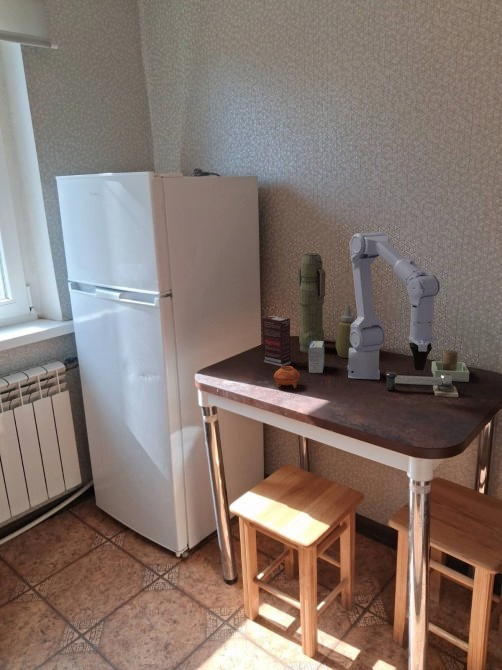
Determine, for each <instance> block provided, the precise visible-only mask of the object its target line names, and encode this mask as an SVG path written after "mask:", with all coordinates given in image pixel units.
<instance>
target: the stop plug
mask: <svg viewBox="0 0 502 670" xmlns="http://www.w3.org/2000/svg"><path fill="white" fill-rule="evenodd" d="M458 354H459V353H458V351H456V350H449V349H448V350H444V351H443V359H442V360H443V361H442V362H443V370H444V371H457V362H458V356H459V355H458Z"/></svg>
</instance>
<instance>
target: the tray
mask: <svg viewBox="0 0 502 670" xmlns="http://www.w3.org/2000/svg"><path fill="white" fill-rule="evenodd" d="M431 373H432V375H433V376H432V377H441V374H450V375H452V382H463V383H466V382H467V383H469V381H470V371H469V369H468V367H467V365H466V363H465V362H461V361H457V371H444V370H443V361H434V360H433V361H431Z"/></svg>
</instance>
